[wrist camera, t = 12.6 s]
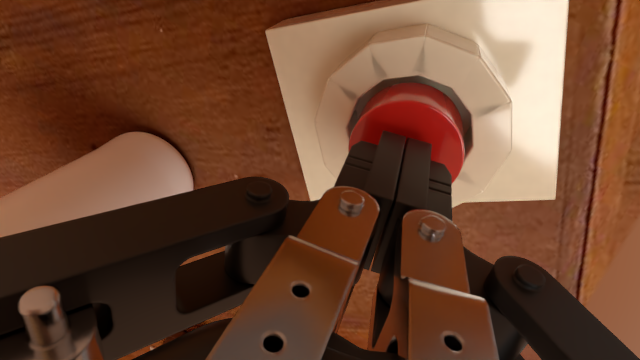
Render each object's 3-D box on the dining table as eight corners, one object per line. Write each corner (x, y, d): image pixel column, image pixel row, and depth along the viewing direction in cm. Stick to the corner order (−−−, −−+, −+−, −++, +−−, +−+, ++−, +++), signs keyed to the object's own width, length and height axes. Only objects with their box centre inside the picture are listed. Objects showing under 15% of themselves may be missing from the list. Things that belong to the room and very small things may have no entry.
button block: (556, -36, 14) (589, -23, 10) (545, 171, 17) (566, 228, 14) (283, 19, 17) (243, 41, 14) (323, 183, 21) (300, 231, 17)
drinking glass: (140, 222, 26) (-136, 486, 14) (82, 126, 23) (-336, 354, 11) (228, 212, 24) (-14, 525, 11) (176, 103, 21) (-230, 366, 8)
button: (460, 74, 13) (462, 93, 11) (465, 173, 14) (467, 200, 13) (350, 89, 14) (338, 107, 13) (366, 178, 16) (358, 204, 14)
